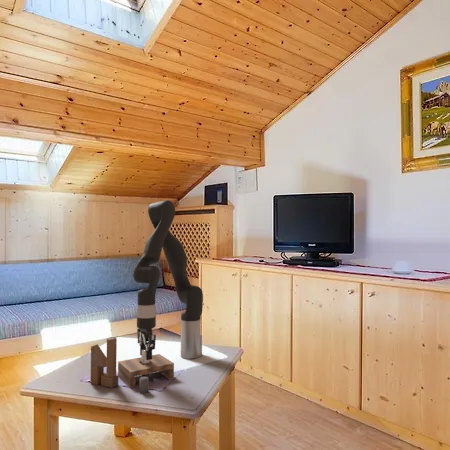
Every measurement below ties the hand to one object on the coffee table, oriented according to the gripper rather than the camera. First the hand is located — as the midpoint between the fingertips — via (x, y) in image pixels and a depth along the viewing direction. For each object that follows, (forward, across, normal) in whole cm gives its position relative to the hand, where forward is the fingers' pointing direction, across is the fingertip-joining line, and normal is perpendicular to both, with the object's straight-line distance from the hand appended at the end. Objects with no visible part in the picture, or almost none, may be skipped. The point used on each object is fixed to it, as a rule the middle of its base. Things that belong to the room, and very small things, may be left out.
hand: (145, 357), depth 156 cm
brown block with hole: (+8, 0, 0) cm, 8 cm away
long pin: (+8, 0, 0) cm, 8 cm away
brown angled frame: (+8, +2, +16) cm, 18 cm away
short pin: (+8, -13, +6) cm, 16 cm away
